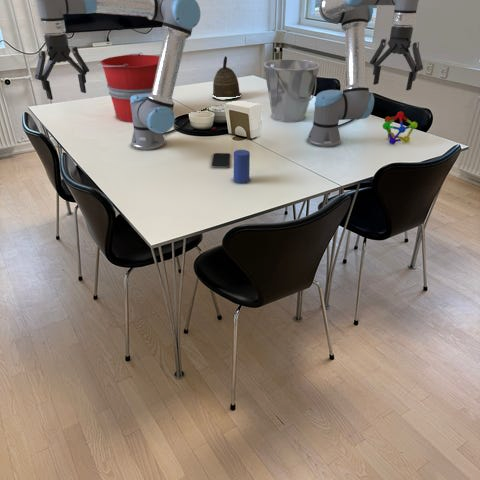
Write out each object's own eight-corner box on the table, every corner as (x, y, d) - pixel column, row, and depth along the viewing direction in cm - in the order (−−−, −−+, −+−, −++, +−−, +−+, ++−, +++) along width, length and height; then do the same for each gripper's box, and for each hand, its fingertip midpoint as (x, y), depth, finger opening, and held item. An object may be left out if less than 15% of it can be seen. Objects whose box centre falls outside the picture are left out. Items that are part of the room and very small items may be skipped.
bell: (227, 105, 294) (202, 96, 282) (238, 66, 289) (213, 55, 277) (243, 108, 280) (217, 98, 268) (255, 66, 275) (229, 55, 263)
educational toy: (377, 146, 209) (379, 114, 202) (384, 138, 219) (386, 107, 211) (411, 149, 202) (415, 116, 195) (417, 141, 212) (420, 109, 204)
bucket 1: (116, 106, 262) (108, 51, 246) (175, 107, 261) (171, 52, 245) (98, 124, 233) (88, 63, 217) (164, 125, 232) (159, 64, 216)
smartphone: (211, 166, 183) (213, 153, 196) (211, 167, 184) (213, 154, 196) (229, 166, 183) (230, 153, 196) (229, 168, 184) (230, 154, 196)
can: (238, 184, 170) (238, 156, 164) (230, 179, 175) (230, 151, 168) (252, 181, 173) (252, 153, 166) (244, 176, 177) (244, 148, 171)
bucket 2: (289, 128, 228) (292, 72, 213) (250, 116, 247) (251, 63, 232) (326, 117, 245) (332, 64, 230) (287, 106, 263) (290, 56, 249)
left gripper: (25, 38, 145) (40, 103, 156) (92, 31, 161) (101, 91, 172) (15, 36, 149) (30, 100, 161) (81, 29, 165) (91, 88, 176)
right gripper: (366, 23, 164) (358, 83, 175) (432, 29, 149) (418, 94, 160) (376, 22, 168) (367, 80, 180) (441, 27, 154) (427, 90, 165)
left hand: (67, 95), depth 166 cm, fingers open, 13 cm apart
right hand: (391, 86), depth 170 cm, fingers open, 13 cm apart
